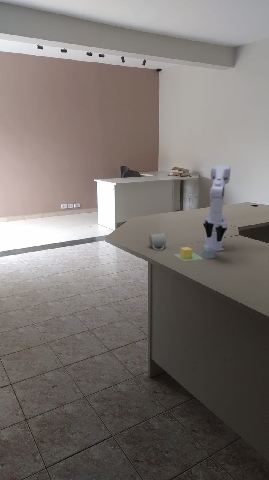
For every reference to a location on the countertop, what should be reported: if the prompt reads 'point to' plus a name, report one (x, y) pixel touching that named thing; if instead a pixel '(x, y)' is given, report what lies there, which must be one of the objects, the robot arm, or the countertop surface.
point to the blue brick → (208, 253)
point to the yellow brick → (186, 253)
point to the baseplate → (194, 257)
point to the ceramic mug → (157, 241)
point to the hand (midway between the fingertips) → (213, 239)
